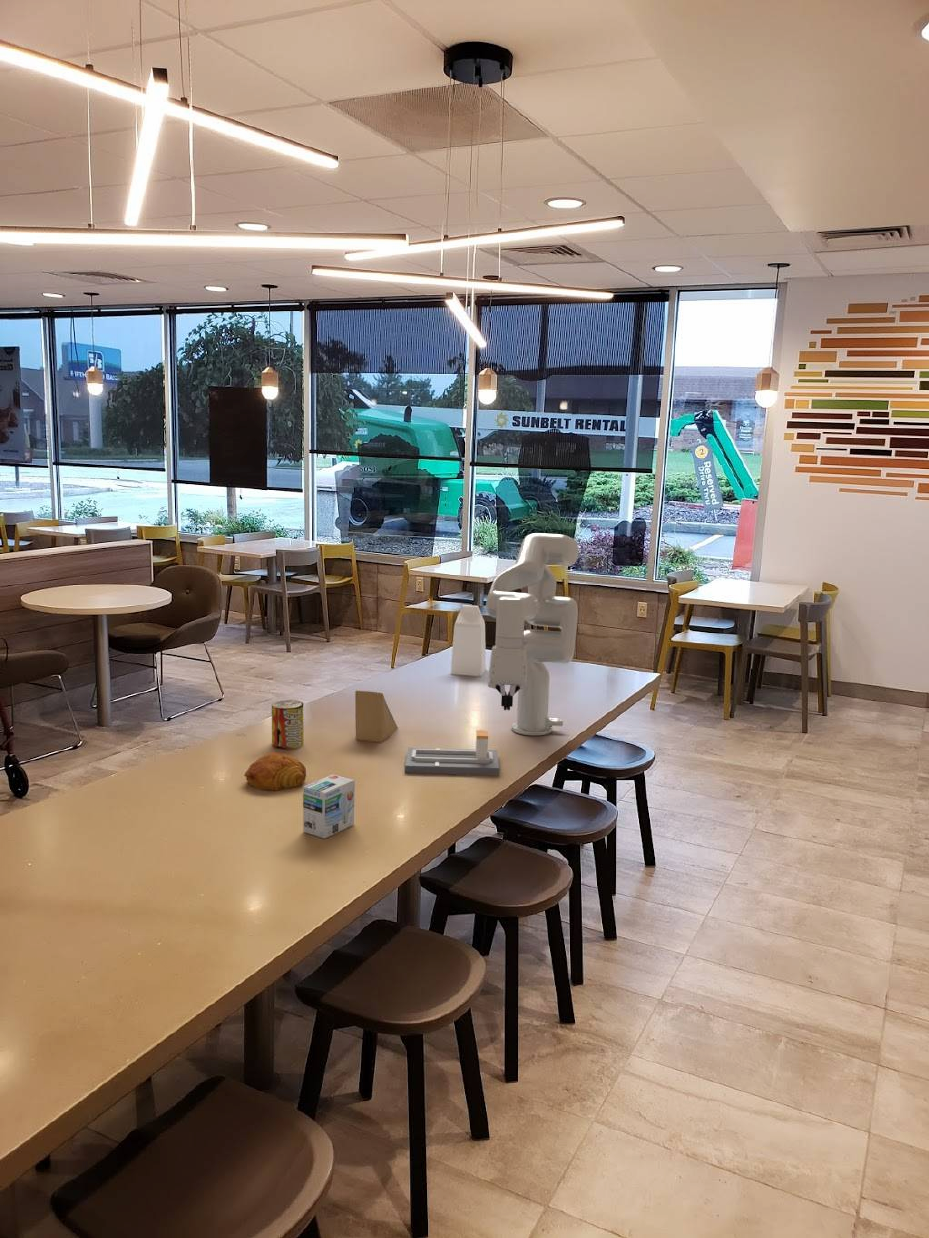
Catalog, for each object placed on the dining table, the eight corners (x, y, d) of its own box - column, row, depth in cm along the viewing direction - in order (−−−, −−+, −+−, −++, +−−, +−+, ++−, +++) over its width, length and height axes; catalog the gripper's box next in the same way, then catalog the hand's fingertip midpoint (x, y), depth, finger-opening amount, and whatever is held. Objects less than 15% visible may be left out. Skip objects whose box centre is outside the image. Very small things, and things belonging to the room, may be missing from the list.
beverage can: (265, 745, 266) (264, 705, 264) (285, 737, 274) (285, 698, 272) (290, 751, 262) (290, 710, 260) (310, 742, 270) (309, 702, 268)
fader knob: (486, 754, 257) (487, 730, 256) (487, 760, 252) (488, 736, 251) (475, 753, 257) (476, 730, 256) (476, 759, 252) (476, 735, 251)
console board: (496, 756, 263) (496, 746, 262) (498, 775, 248) (499, 764, 247) (407, 754, 262) (408, 744, 262) (404, 772, 248) (405, 762, 247)
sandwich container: (399, 727, 288) (400, 680, 285) (382, 742, 273) (382, 693, 270) (373, 725, 290) (373, 678, 287) (354, 739, 275) (355, 690, 272)
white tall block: (450, 674, 358) (452, 607, 353) (455, 667, 369) (457, 602, 364) (481, 676, 356) (483, 609, 351) (485, 669, 367) (488, 604, 362)
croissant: (282, 776, 249) (280, 746, 249) (316, 783, 238) (314, 753, 237) (234, 787, 239) (232, 756, 239) (267, 795, 228) (265, 763, 227)
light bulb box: (324, 839, 204) (325, 793, 202) (301, 832, 208) (301, 786, 206) (355, 824, 213) (355, 779, 211) (332, 817, 217) (332, 773, 215)
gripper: (536, 640, 253) (533, 706, 256) (481, 639, 252) (478, 704, 255) (538, 646, 245) (535, 713, 248) (481, 644, 245) (479, 711, 248)
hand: (506, 708), depth 252 cm, fingers closed
